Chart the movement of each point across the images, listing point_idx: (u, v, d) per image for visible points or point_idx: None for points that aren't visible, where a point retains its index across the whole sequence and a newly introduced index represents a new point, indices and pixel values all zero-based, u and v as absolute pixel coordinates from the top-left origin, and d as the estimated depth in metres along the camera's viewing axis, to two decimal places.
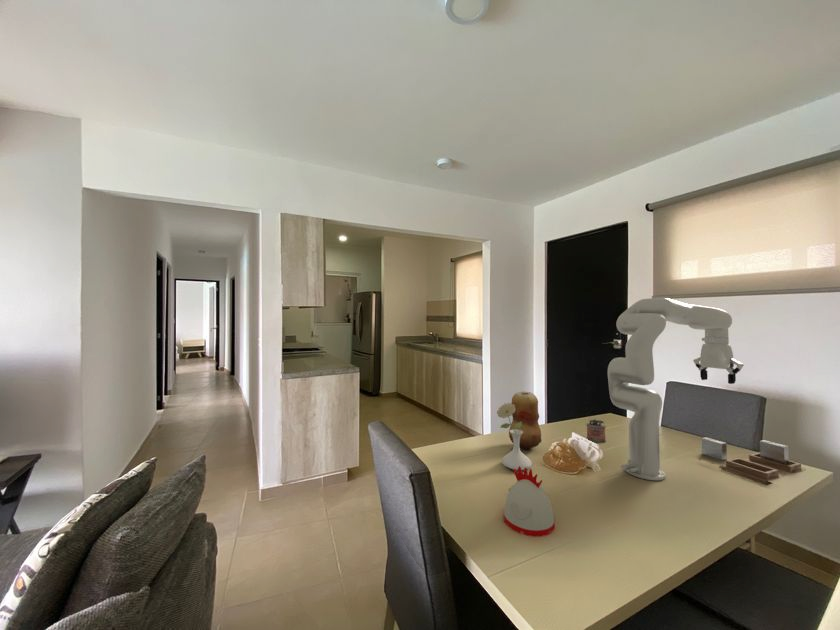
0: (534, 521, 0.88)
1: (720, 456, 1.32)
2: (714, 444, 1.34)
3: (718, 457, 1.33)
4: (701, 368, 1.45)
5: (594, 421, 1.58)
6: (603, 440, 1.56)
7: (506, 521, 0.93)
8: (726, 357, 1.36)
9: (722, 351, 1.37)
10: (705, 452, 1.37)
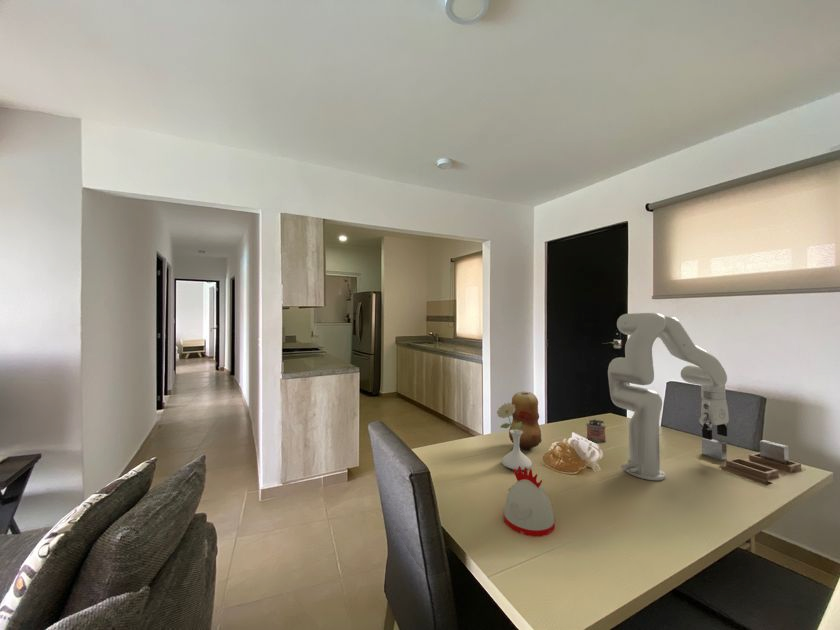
0: (534, 521, 0.88)
1: (720, 456, 1.32)
2: (714, 444, 1.34)
3: (718, 457, 1.33)
4: (710, 427, 1.33)
5: (594, 421, 1.58)
6: (603, 440, 1.56)
7: (506, 521, 0.93)
8: (727, 410, 1.36)
9: (726, 405, 1.35)
10: (705, 452, 1.37)
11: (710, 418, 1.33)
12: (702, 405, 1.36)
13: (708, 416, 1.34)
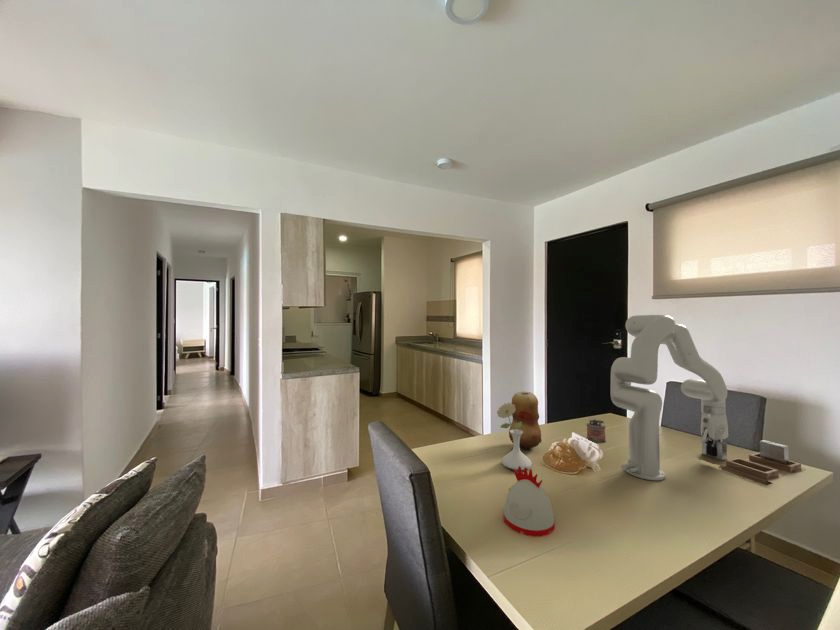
0: (534, 521, 0.88)
1: (720, 456, 1.32)
2: None
3: (718, 457, 1.33)
4: (714, 444, 1.34)
5: (594, 421, 1.58)
6: (603, 440, 1.56)
7: (506, 521, 0.93)
8: (727, 425, 1.35)
9: (726, 420, 1.35)
10: (705, 452, 1.37)
11: (710, 433, 1.33)
12: (702, 419, 1.36)
13: (708, 431, 1.33)
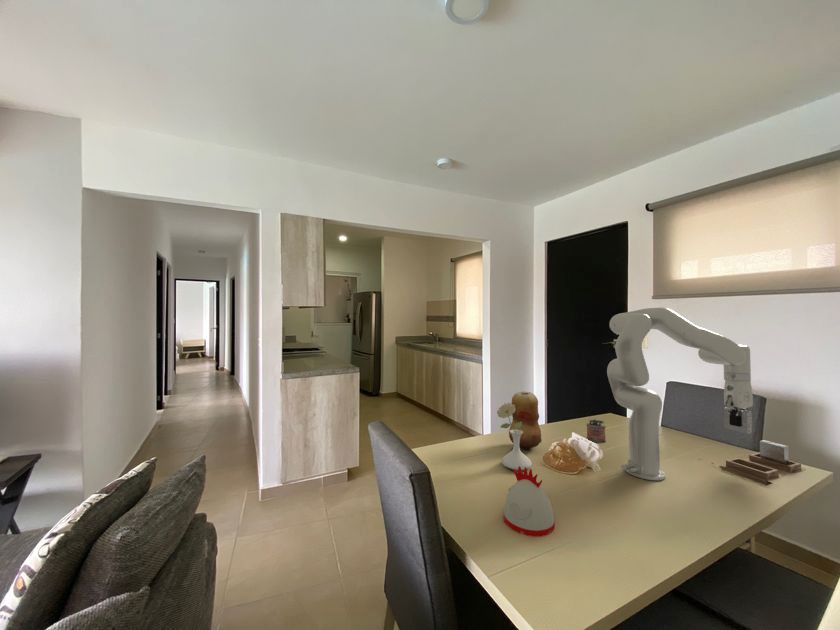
0: (534, 521, 0.88)
1: (745, 425, 1.24)
2: None
3: (743, 427, 1.24)
4: (738, 413, 1.25)
5: (594, 421, 1.58)
6: (603, 440, 1.56)
7: (506, 521, 0.93)
8: None
9: (750, 388, 1.26)
10: (728, 422, 1.29)
11: (734, 401, 1.24)
12: (725, 387, 1.27)
13: (732, 399, 1.25)
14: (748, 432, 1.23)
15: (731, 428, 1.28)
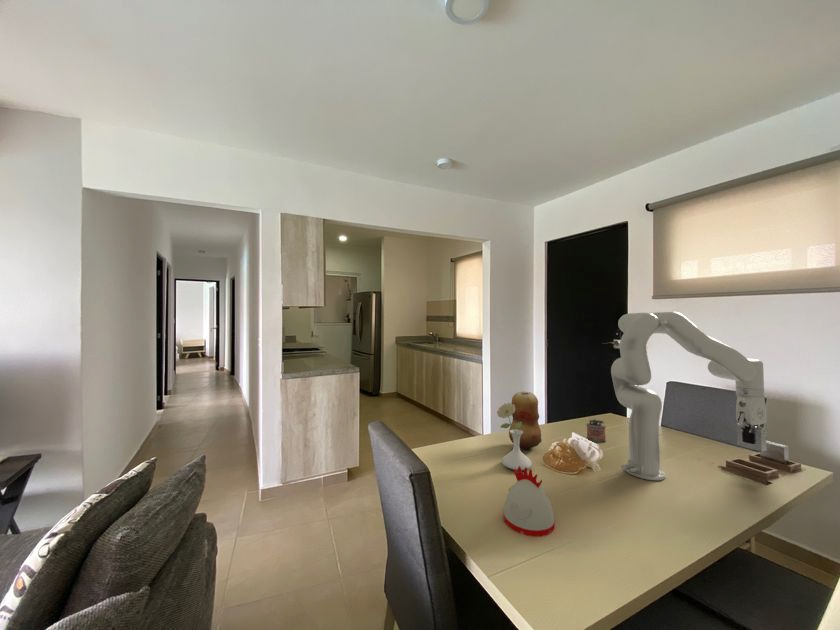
0: (534, 521, 0.88)
1: (759, 443, 1.20)
2: None
3: (757, 444, 1.20)
4: (751, 430, 1.21)
5: (594, 421, 1.58)
6: (603, 440, 1.56)
7: (506, 521, 0.93)
8: None
9: (764, 404, 1.22)
10: (741, 439, 1.24)
11: (747, 417, 1.20)
12: (737, 403, 1.23)
13: (745, 415, 1.20)
14: (762, 450, 1.19)
15: (744, 445, 1.24)
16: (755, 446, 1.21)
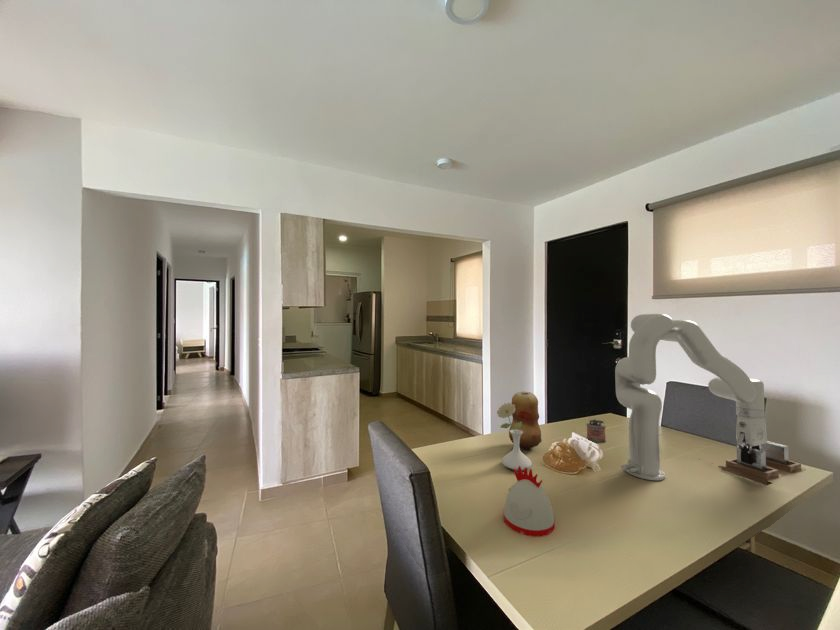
0: (534, 521, 0.88)
1: (759, 466, 1.19)
2: None
3: (756, 467, 1.20)
4: (750, 450, 1.21)
5: (594, 421, 1.58)
6: (603, 440, 1.56)
7: (506, 521, 0.93)
8: None
9: (764, 424, 1.22)
10: (741, 462, 1.24)
11: (747, 438, 1.20)
12: (738, 423, 1.23)
13: (745, 436, 1.20)
14: None
15: None
16: None
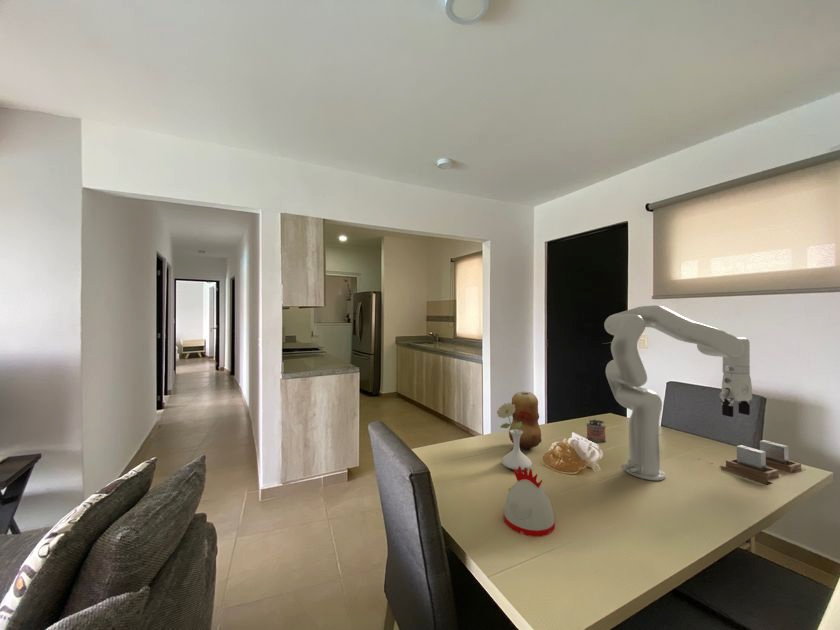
0: (534, 521, 0.88)
1: (759, 466, 1.19)
2: (751, 453, 1.21)
3: (756, 467, 1.20)
4: (731, 403, 1.23)
5: (594, 421, 1.58)
6: (603, 440, 1.56)
7: (506, 521, 0.93)
8: (751, 387, 1.25)
9: (750, 381, 1.25)
10: (741, 462, 1.24)
11: (732, 393, 1.23)
12: (723, 380, 1.26)
13: (730, 391, 1.24)
14: None
15: None
16: None
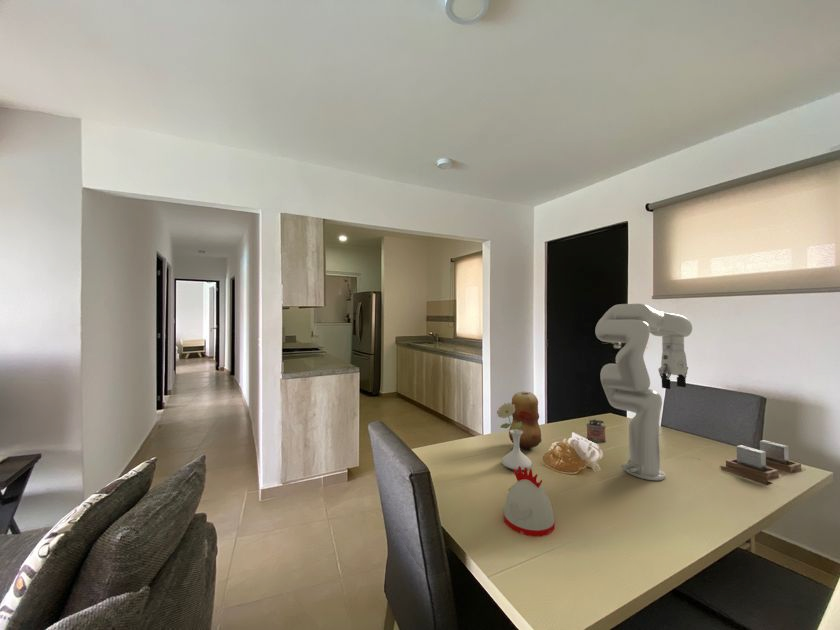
0: (534, 521, 0.88)
1: (759, 466, 1.19)
2: (751, 453, 1.21)
3: (756, 467, 1.20)
4: (668, 377, 1.40)
5: (594, 421, 1.58)
6: (603, 440, 1.56)
7: (506, 521, 0.93)
8: (686, 362, 1.42)
9: (684, 357, 1.42)
10: (741, 462, 1.24)
11: (669, 368, 1.40)
12: (662, 357, 1.43)
13: (667, 366, 1.40)
14: None
15: None
16: None
